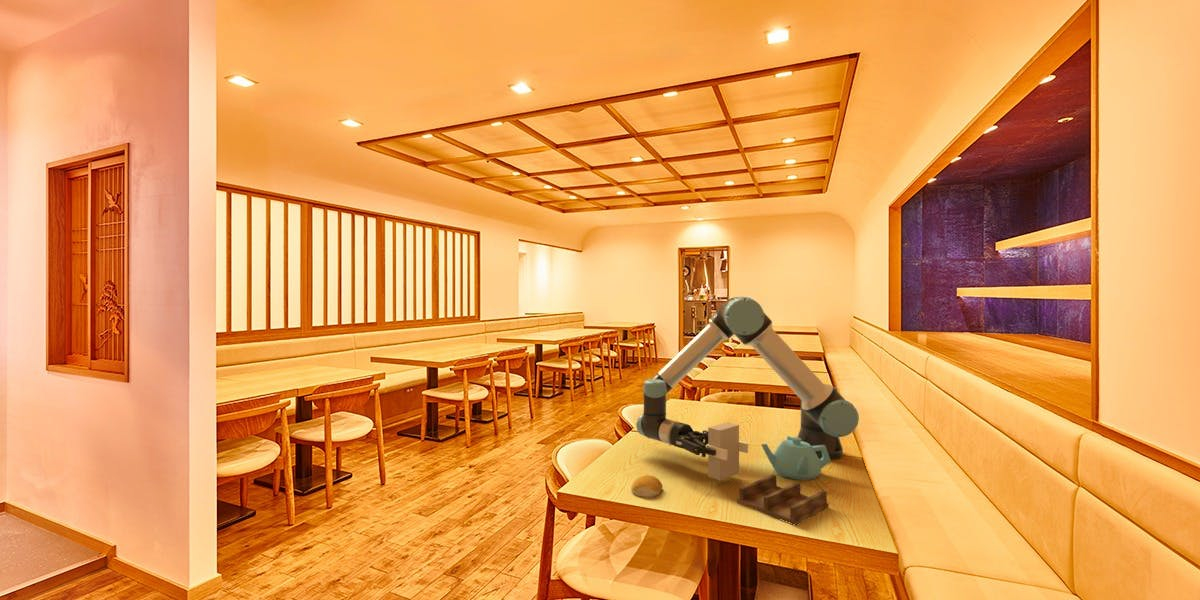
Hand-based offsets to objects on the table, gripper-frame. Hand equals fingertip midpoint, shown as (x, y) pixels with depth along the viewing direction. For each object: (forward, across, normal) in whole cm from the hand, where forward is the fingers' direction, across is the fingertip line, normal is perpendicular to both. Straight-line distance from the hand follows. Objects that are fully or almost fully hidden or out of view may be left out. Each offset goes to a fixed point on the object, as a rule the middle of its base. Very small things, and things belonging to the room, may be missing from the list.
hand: (737, 451), depth 135 cm
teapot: (+4, -24, -11) cm, 27 cm away
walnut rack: (+14, 0, -10) cm, 17 cm away
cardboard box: (-5, 0, -8) cm, 9 cm away
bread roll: (-14, +22, -10) cm, 28 cm away
